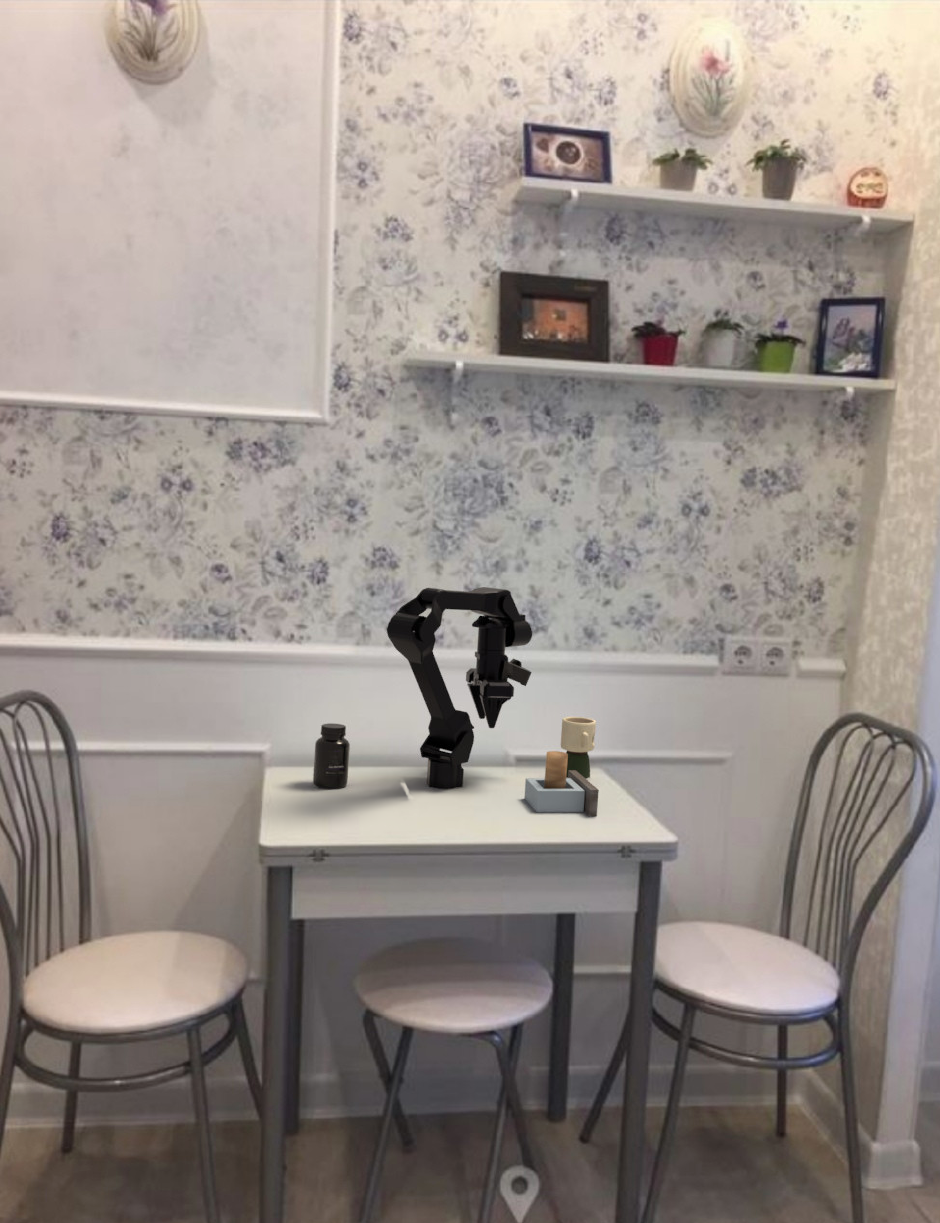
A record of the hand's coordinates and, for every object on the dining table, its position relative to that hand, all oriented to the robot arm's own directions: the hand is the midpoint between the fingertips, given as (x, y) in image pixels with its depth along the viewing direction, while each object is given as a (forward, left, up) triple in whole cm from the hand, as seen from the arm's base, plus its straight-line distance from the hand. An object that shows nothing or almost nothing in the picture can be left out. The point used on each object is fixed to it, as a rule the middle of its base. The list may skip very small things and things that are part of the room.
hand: (486, 723), depth 213 cm
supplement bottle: (-32, -4, -12) cm, 34 cm away
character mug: (+20, 0, -12) cm, 23 cm away
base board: (+6, -22, -12) cm, 26 cm away
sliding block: (+9, -22, -11) cm, 26 cm away
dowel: (+9, -22, -11) cm, 26 cm away
